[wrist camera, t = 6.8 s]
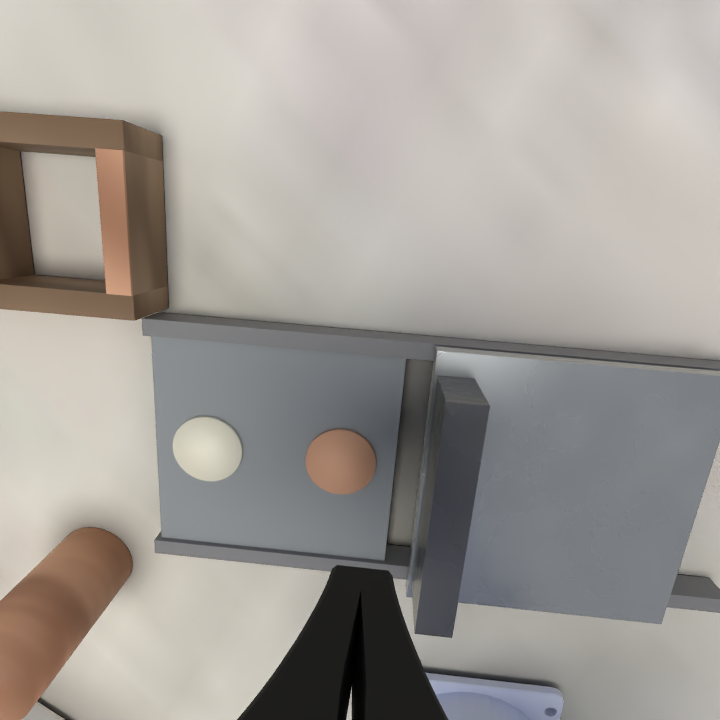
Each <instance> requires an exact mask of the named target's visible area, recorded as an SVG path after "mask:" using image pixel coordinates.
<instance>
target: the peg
mask: <svg viewBox="0 0 720 720" xmlns="http://www.w3.org/2000/svg"><path fill="white" fill-rule="evenodd" d="M132 567H133V562H132V557H131V554H130V552H129V550H128V548H127V547H126V545H125V544H124V543H123V542H122V541H121V540H120V539H119V538H118V537H117V536H115V535H114V534H112V533H110V532H108V531H105V530H103V529H99V528H91V527H88V528H81V529H78V530H75V531H73V532H72V533H70V534H69V535H68V536H67V537H66V538H65V539H64V540H63V541H62V542H61V543H60V544H59V545H58V546H57V547H56V548H55V549H54V550H53V551H52V552H51V553H50V554H48V555H47V556H46V557H45V558H44V559H43V560H42V561H41V562H40V563H39V564H38V565H37V566H36V567H35V568H34V569H33V570H32V571H31V572H30V573H29V574H28V575H27V576H26V577H25V578H24V579H23V580H22V581H21V582H20V583H18V584H17V585H16V586H15V587H14V588H13V589H12V590H11V591H10V592H9V593H8V594H7V595H6V596H5V597H4V598H3V599H2V600H1V601H0V720H22V719H23V718H24V717H25V716H26V715H27V714H28V713H29V711H30V710H31V709H32V707H33V706H34V705H35V703H36V702H37V701H38V699H39V698H40V697H41V695H42V694H43V693H44V691H45V690H46V688H47V687H48V686H49V684H50V683H51V682H52V680H53V679H54V678H55V676H56V675H57V674H58V672H59V671H60V670H61V668H62V667H63V666H64V664H65V663H66V661H67V660H68V659H69V657H70V656H71V655H72V653H73V652H74V651H75V649H76V648H77V647H78V645H79V644H80V643H81V641H82V640H83V638H84V637H85V636H86V634H87V633H88V632H89V630H90V629H91V628H92V626H93V625H94V624H95V622H96V621H97V620H98V618H99V617H100V616H101V614H102V613H103V611H104V610H105V609H106V607H107V606H108V605H109V603H110V602H111V601H112V599H113V598H114V597H115V595H116V594H117V593H118V591H119V590H120V588H121V587H122V586H123V584H124V583H125V582H126V580H127V579H128V578H129V576H130V574H131V571H132Z"/></svg>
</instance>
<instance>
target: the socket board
mask: <svg viewBox="0 0 720 720" xmlns="http://www.w3.org/2000/svg"><path fill="white" fill-rule="evenodd" d="M20 151H25V152H39V153H52V154H66V155H79V156H93V157H96V166H97V179H98V192H99V205H100V218H101V231H102V244H103V257H104V270H105V281H101V280H89V279H78V278H66V277H54V276H42V275H34V267H33V259H32V251H31V242H30V234H29V225H28V217H27V209H26V200H25V192H24V183H23V175H22V167H21V158H20ZM167 308H169V302H168V277H167V252H166V227H165V202H164V177H163V152H162V136H161V135H158V134H156V133H153V132H151V131H148V130H146V129H143V128H141V127H138V126H136V125H133V124H131V123H128V122H125V121H123V120H112V119H98V118H84V117H69V116H55V115H41V114H27V113H13V112H0V309H8V310H20V311H31V312H42V313H54V314H65V315H77V316H88V317H100V318H111V319H122V320H134V321H135V320H137V319H140V318H143V317H146V316H148V315H151V314H154V313H156V312H159V311H162V310H164V309H167Z"/></svg>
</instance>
